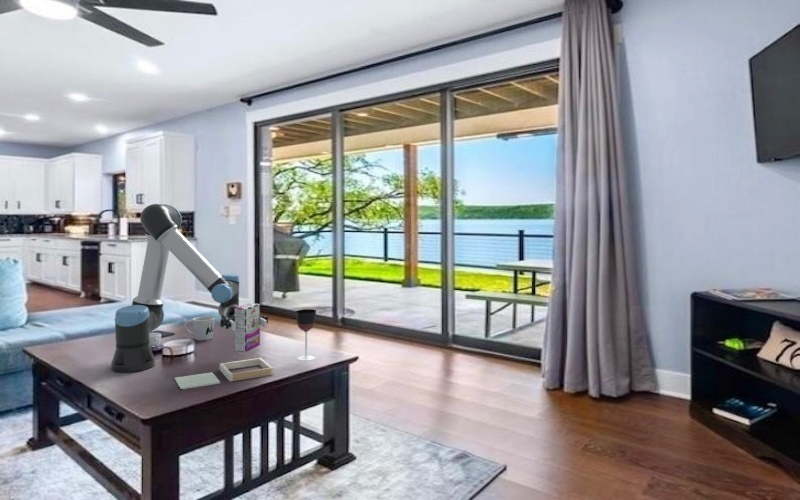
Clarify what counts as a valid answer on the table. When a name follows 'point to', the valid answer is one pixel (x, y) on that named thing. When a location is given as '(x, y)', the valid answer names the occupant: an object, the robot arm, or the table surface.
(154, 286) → the robot arm
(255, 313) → the candy bar box
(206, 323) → the mug
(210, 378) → the rubber mat
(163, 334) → the notebook
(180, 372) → the table surface
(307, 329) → the wineglass
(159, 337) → the teacup
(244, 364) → the cream rectangular open frame
